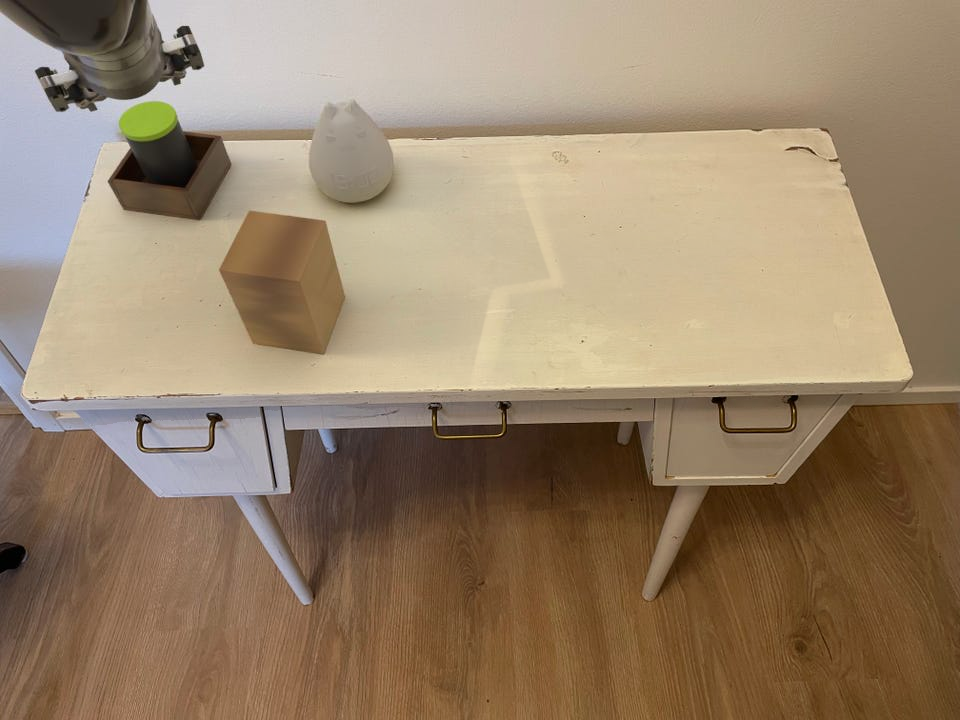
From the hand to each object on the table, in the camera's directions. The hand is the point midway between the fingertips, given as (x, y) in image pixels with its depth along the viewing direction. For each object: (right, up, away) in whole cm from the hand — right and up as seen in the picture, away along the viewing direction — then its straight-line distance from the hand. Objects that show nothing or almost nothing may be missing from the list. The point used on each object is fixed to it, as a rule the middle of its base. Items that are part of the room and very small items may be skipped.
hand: (131, 88), depth 74 cm
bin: (-3, -6, +18) cm, 19 cm away
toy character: (+20, -6, +18) cm, 27 cm away
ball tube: (-3, -6, +17) cm, 18 cm away
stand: (+16, -23, +6) cm, 29 cm away
